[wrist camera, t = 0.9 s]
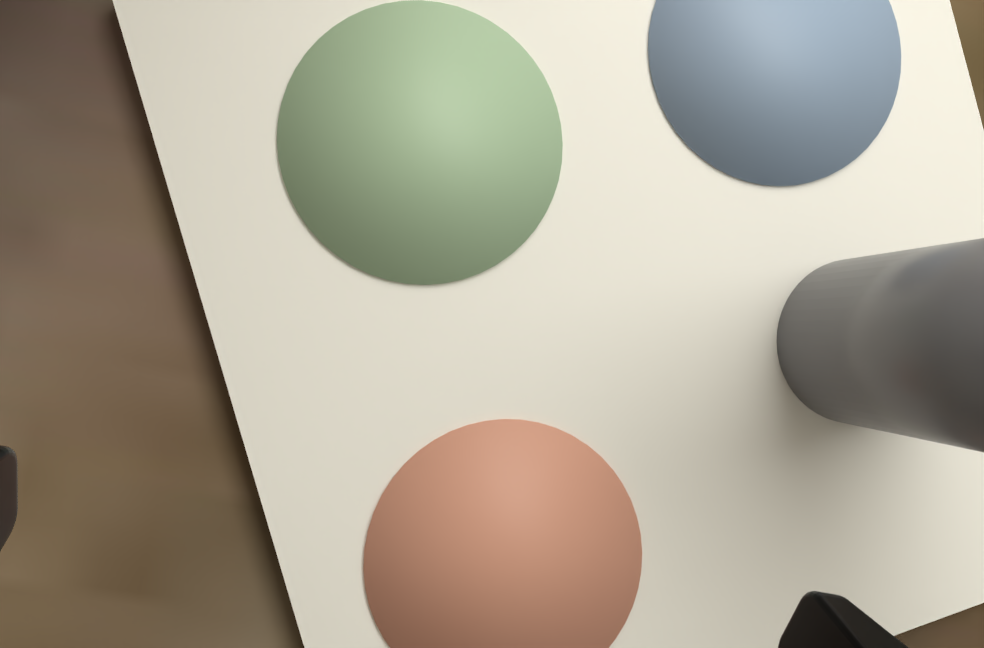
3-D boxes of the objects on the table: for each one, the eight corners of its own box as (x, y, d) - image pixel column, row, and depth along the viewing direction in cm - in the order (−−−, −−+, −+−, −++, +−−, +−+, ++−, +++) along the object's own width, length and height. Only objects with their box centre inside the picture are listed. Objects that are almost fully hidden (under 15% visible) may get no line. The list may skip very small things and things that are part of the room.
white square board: (1074, 553, 25) (1099, 561, 24) (360, 814, 22) (358, 834, 21) (885, -165, 24) (903, -184, 23) (120, 3, 21) (108, -11, 20)
